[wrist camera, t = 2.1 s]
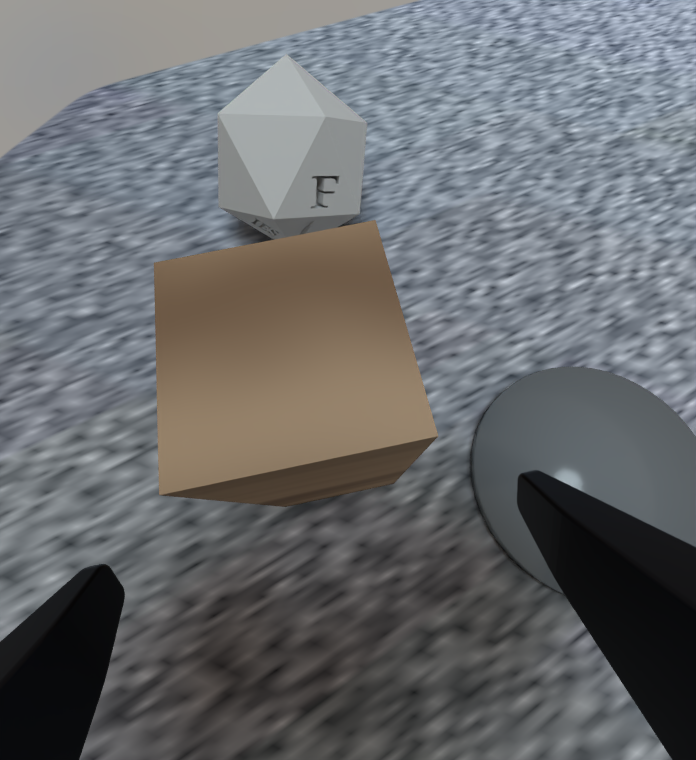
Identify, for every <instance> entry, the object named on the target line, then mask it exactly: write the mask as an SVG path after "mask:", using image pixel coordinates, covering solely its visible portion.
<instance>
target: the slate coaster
mask: <svg viewBox="0 0 696 760" xmlns="http://www.w3.org/2000/svg"><path fill="white" fill-rule="evenodd" d="M533 470H539V471H542V472H544V473H546V474H548V475H550V476H552V477H554V478H556V479H558V480H560V481H562V482H564V483H566V484H568V485H570V486H572V487H574V488H576V489H579V490H581V491H583V492H585V493H587V494H589V495H591V496H593V497H595V498H597V499H599V500H601V501H603V502H605V503H607V504H609V505H611V506H613V507H615V508H617V509H619V510H621V511H623V512H626V513H628V514H630V515H632V516H634V517H636V518H638V519H640V520H642V521H644V522H646V523H648V524H650V525H652V526H654V527H656V528H658V529H660V530H662V531H664V532H666V533H668V534H670V535H673V536H675V537H677V538H679V539H681V540H683V541H685V542H687V543H689V544H691V545H693V546H695V547H696V436H695V435H694V434H693V432H692V431H691V430H690V428H689V427H688V426H687V424H686V423H685V422H684V421H683V420H682V419H681V418H680V417H679V416H678V414H677V413H676V412H675V411H674V410H672V409H671V408H670V407H669V406H668V405H667V404H666V403H665V402H663V401H662V400H661V399H659V398H658V397H657V396H655V395H654V394H653V393H651V392H650V391H648V390H647V389H645V388H643V387H641V386H640V385H638V384H636V383H634V382H632V381H630V380H628V379H626V378H623V377H621V376H618V375H615V374H612V373H609V372H606V371H602V370H597V369H593V368H584V367H559V368H551V369H547V370H543V371H539V372H536V373H534V374H531V375H529V376H526V377H524V378H523V379H521V380H519V381H517V382H516V383H514V384H513V385H511V386H510V387H509V388H508V389H506V390H505V391H504V392H503V393H502V394H501V395H499V396H498V397H497V398H496V400H495V401H494V402H493V403H492V404H491V405H490V406H489V408H488V409H487V411H486V412H485V413H484V415H483V417H482V419H481V421H480V423H479V425H478V427H477V430H476V433H475V436H474V439H473V445H472V450H471V478H472V485H473V489H474V494H475V498H476V501H477V504H478V506H479V509H480V512H481V514H482V516H483V518H484V520H485V522H486V524H487V526H488V528H489V530H490V531H491V533H492V534H493V536H494V537H495V539H496V541H497V542H498V543H499V544H500V546H501V547H502V548H503V549H504V551H505V552H506V553H507V554H508V555H509V556H510V557H511V558H512V559H513V560H514V561H515V562H516V563H517V564H518V565H519V566H520V567H521V568H522V569H523V570H525V571H526V572H527V573H528V574H530V575H531V576H532V577H534V578H535V579H536V580H538V581H540V582H541V583H543V584H545V585H546V586H548V587H550V588H551V589H554V590H556V591H558V592H560V593H563V591H562V590H561V588H560V587H559V585H558V583H557V582H556V580H555V578H554V577H553V575H552V573H551V571H550V569H549V568H548V566H547V564H546V562H545V560H544V558H543V556H542V554H541V552H540V550H539V548H538V546H537V544H536V543H535V541H534V539H533V537H532V535H531V533H530V531H529V529H528V527H527V525H526V523H525V521H524V520H523V518H522V516H521V514H520V512H519V509H518V506H517V479H518V476H519V474H521V473H523V472H528V471H533ZM563 594H564V593H563Z"/></svg>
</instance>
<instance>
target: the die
mask: <svg viewBox="0 0 696 760" xmlns="http://www.w3.org/2000/svg"><path fill="white" fill-rule="evenodd" d="M366 131H367V122H366V121H364V120H363V119H362V118H361V117H360V116H359V115H357V114H356V113H355V112H354V111H353V110H351V109H350V108H349V107H348V106H347V105H346V104H344V103H343V102H342V101H341V100H340V99H339V98H337V97H336V96H335V95H334V94H333V93H332V92H330V91H329V90H328V89H327V88H326V87H324V86H323V85H322V84H321V83H320V82H319V81H317V80H316V79H315V78H314V77H313V76H312V75H310V74H309V73H308V72H307V71H306V70H305V69H303V68H302V67H301V66H300V65H299V64H297V63H296V62H295V61H294V60H293V59H292V58H290V57H289V56H288V55H287V54H286V55H285V56H284V57H282V58H281V59H280V60H279V61H278V62H277V63H276V64H274V65H273V66H272V67H271V68H270V69H269V70H267V71H266V72H265V73H264V74H263V75H262V76H261V77H259V78H258V79H257V80H256V81H255V82H254V83H252V84H251V85H250V86H249V87H248V88H247V89H245V90H244V91H243V92H242V93H241V94H240V95H239V96H237V97H236V98H235V99H234V100H233V101H232V102H230V103H229V104H228V105H227V106H226V107H225V108H224V109H222V110H221V111H220V112H219V113H218V183H219V207H220V208H221V209H223V210H225V211H226V212H228V213H230V214H231V215H233V216H235V217H237V218H238V219H240V220H242V221H243V222H245V223H247V224H248V225H250V226H252V227H253V228H255V229H257V230H258V231H260V232H262V233H264V234H265V235H267V236H269V237H270V238H272V239H274V240H275V239H280V238H285V237H291V236H296V235H301V234H306V233H311V232H316V231H322V230H327V229H332V228H337V227H339V226H340V225H342V224H344V223H345V222H347V221H349V220H350V219H352V218H354V217H355V216H357V215H359V214H360V204H361V191H362V179H363V167H364V155H365V143H366Z"/></svg>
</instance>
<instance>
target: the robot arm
mask: <svg viewBox="0 0 696 760" xmlns="http://www.w3.org/2000/svg"><path fill="white" fill-rule="evenodd" d="M517 506H518V509H519V512H520V514H521V516H522V518H523V520H524V521H525V523H526V525H527V527H528V529H529V531H530V533H531V535H532V537H533V539H534V541H535V543H536V544H537V546H538V548H539V550H540V552H541V554H542V556H543V558H544V560H545V562H546V564H547V566H548V568H549V569H550V571H551V573H552V575H553V577H554V578H555V580H556V582H557V583H558V585H559V587H560V588H561V590H562V591H563V593H564V594H565V596H566V598H567V599H568V601H569V602H570V604H571V605H572V607H573V608H574V610H575V611H576V613H577V614H578V616H579V617H580V619H581V621H582V622H583V624H584V625H585V627H586V628H587V630H588V631H589V633H590V634H591V636H592V637H593V639H594V640H595V642H596V644H597V645H598V647H599V648H600V650H601V651H602V653H603V654H604V656H605V657H606V659H607V660H608V662H609V663H610V665H611V666H612V668H613V670H614V671H615V673H616V674H617V676H618V677H619V679H620V680H621V682H622V683H623V685H624V686H625V688H626V689H627V691H628V693H629V694H630V696H631V697H632V699H633V700H634V702H635V703H636V705H637V706H638V708H639V709H640V711H641V712H642V714H643V716H644V717H645V719H646V720H647V722H648V723H649V725H650V726H651V728H652V729H653V731H654V732H655V734H656V735H657V737H658V738H659V740H660V742H661V743H662V745H663V746H664V748H665V749H666V751H667V752H668V754H669V755H670V757H671V758H672V760H696V547H695V546H693V545H691V544H689V543H687V542H685V541H683V540H681V539H679V538H677V537H675V536H673V535H670V534H668V533H666V532H664V531H662V530H660V529H658V528H656V527H654V526H652V525H650V524H648V523H646V522H644V521H642V520H640V519H638V518H636V517H634V516H632V515H630V514H628V513H626V512H623V511H621V510H619V509H617V508H615V507H613V506H611V505H609V504H607V503H605V502H603V501H601V500H599V499H597V498H595V497H593V496H591V495H589V494H587V493H585V492H583V491H581V490H579V489H576V488H574V487H572V486H570V485H568V484H566V483H564V482H562V481H560V480H558V479H556V478H554V477H552V476H550V475H548V474H546V473H544V472H542V471H539V470H533V471H528V472H523V473H521V474H519V476H518V479H517ZM124 597H125V593H124V588H123V586H122V585H121V583H120V582H119V580H118V579H117V577H116V576H115V574H114V573H113V571H112V570H111V568H110V567H109V566H108V565H106V564H99V565H95V566H90V567H87V568H84V569H82V570H81V571H80V572H79V573H78V574H76V575H75V576H74V577H73V578H72V579H71V580H70V581H69V582H67V583H66V584H65V585H64V586H63V587H62V588H61V589H60V590H58V591H57V592H56V593H55V594H54V595H53V596H52V597H50V598H49V599H48V600H47V601H46V602H45V603H44V604H43V605H41V606H40V607H39V608H38V609H37V610H36V611H35V612H34V613H32V614H31V615H30V616H29V617H28V618H27V619H26V620H25V621H23V622H22V623H21V624H20V625H19V626H18V627H17V628H15V629H14V630H13V631H12V632H11V633H10V634H9V635H8V636H6V637H5V638H4V639H3V640H2V641H1V642H0V760H79V758H80V755H81V752H82V749H83V746H84V743H85V740H86V737H87V734H88V731H89V728H90V725H91V722H92V719H93V716H94V713H95V710H96V707H97V704H98V701H99V698H100V695H101V691H102V688H103V685H104V682H105V678H106V674H107V670H108V667H109V662H110V658H111V654H112V650H113V646H114V641H115V637H116V633H117V629H118V624H119V620H120V616H121V612H122V607H123V603H124Z"/></svg>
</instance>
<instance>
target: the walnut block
mask: <svg viewBox="0 0 696 760" xmlns="http://www.w3.org/2000/svg"><path fill="white" fill-rule="evenodd" d="M154 285H155V329H156V374H157V419H158V463H159V495H163V496H174V497H185V498H196V499H206V500H217V501H228V502H239V503H250V504H260V505H271V506H282V507H287V506H292V505H296V504H301V503H306V502H310V501H315V500H320V499H324V498H329V497H334V496H338V495H343V494H348V493H352V492H357V491H362V490H366V489H371V488H376V487H380V486H385V485H390V484H394V483H395V481H396V480H397V479H398V478H399V477H400V476H401V475H402V474H403V473H404V472H405V471H406V470H407V469H408V468H409V467H410V466H411V465H412V463H413V462H414V461H415V460H416V459H417V458H418V457H419V456H420V455H421V454H422V453H423V452H424V451H425V450H426V449H427V448H428V447H429V445H430V444H431V443H432V442H433V441H434V440H435V439H436V438H437V437H438V433H437V430H436V427H435V423H434V420H433V416H432V413H431V409H430V406H429V402H428V399H427V396H426V392H425V389H424V385H423V382H422V378H421V375H420V372H419V368H418V365H417V361H416V358H415V354H414V351H413V348H412V344H411V341H410V337H409V334H408V330H407V327H406V324H405V320H404V317H403V313H402V310H401V306H400V303H399V299H398V296H397V293H396V289H395V286H394V282H393V279H392V275H391V272H390V269H389V265H388V262H387V258H386V255H385V251H384V248H383V245H382V241H381V238H380V234H379V231H378V227H377V224H376V221H375V220H373V221H368V222H363V223H358V224H353V225H348V226H342V227H337V228H332V229H327V230H322V231H316V232H311V233H306V234H301V235H296V236H291V237H285V238H280V239H275V240H270V241H265V242H259V243H254V244H249V245H244V246H239V247H234V248H228V249H223V250H218V251H213V252H208V253H202V254H197V255H192V256H187V257H182V258H176V259H171V260H166V261H161V262H156V263H154Z"/></svg>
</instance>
